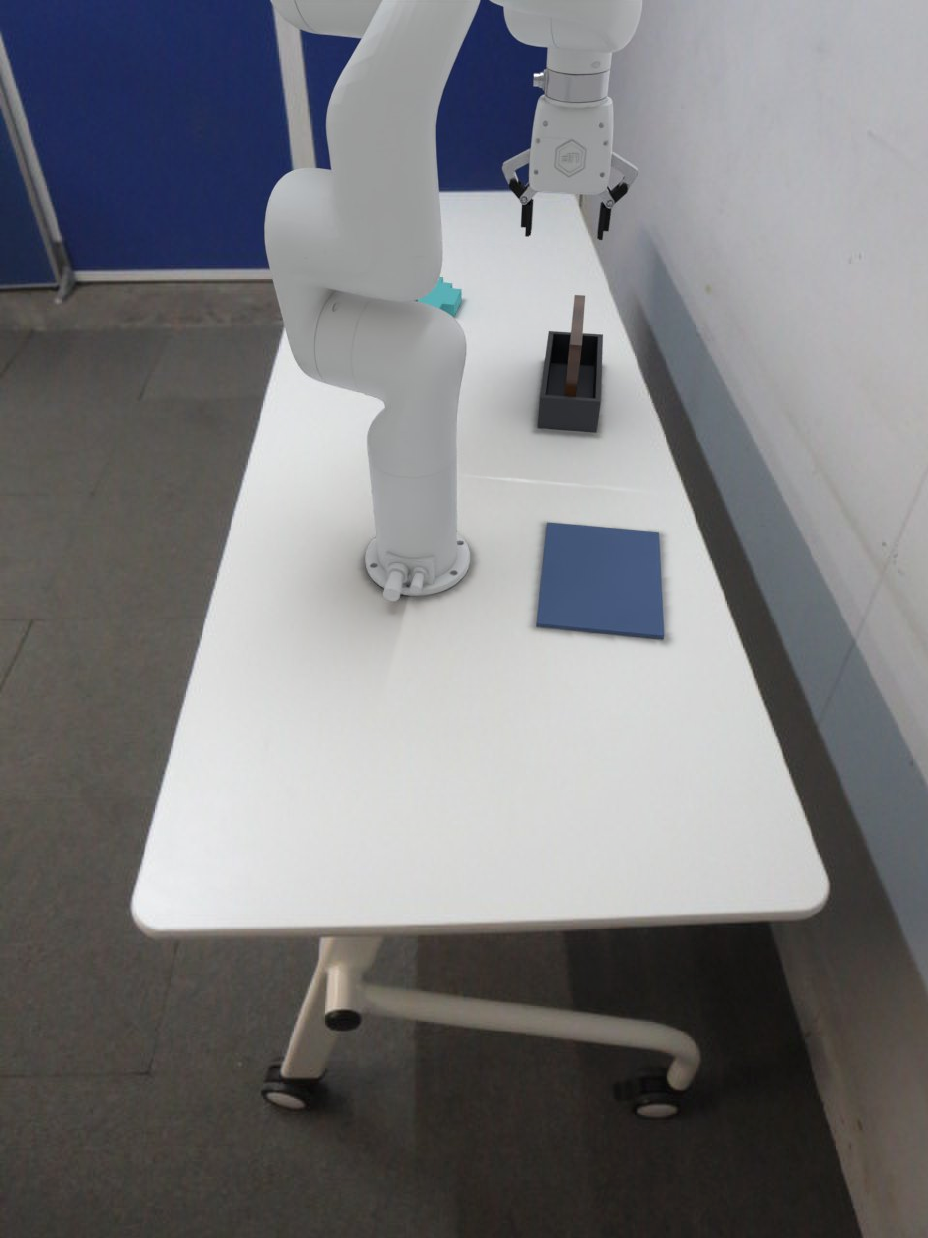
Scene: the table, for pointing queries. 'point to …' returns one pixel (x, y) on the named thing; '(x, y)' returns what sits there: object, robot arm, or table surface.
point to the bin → (553, 402)
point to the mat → (601, 581)
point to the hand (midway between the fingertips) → (564, 234)
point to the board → (575, 346)
